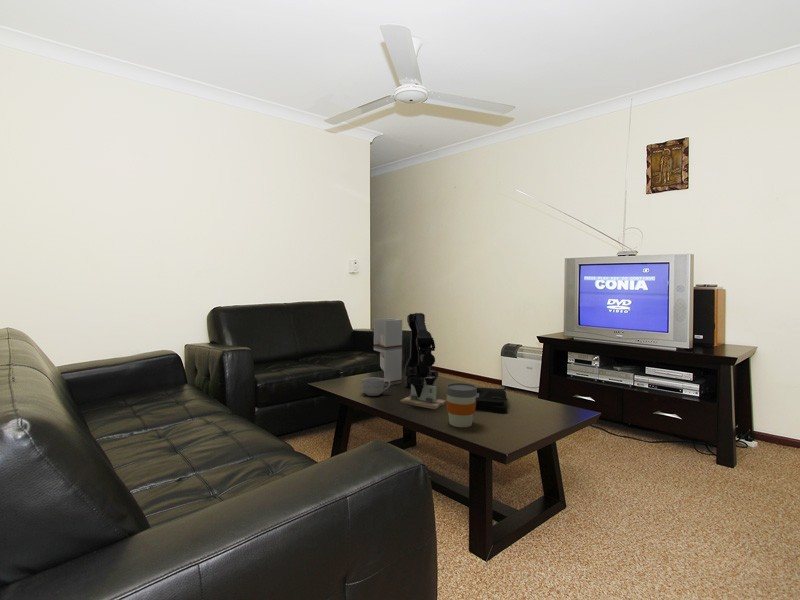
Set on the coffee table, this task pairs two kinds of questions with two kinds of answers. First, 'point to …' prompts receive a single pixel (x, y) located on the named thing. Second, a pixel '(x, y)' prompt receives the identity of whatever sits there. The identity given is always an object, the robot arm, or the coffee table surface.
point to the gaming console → (491, 400)
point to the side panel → (423, 402)
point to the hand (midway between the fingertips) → (423, 395)
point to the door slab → (425, 392)
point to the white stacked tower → (389, 348)
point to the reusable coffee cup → (461, 403)
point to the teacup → (374, 386)
